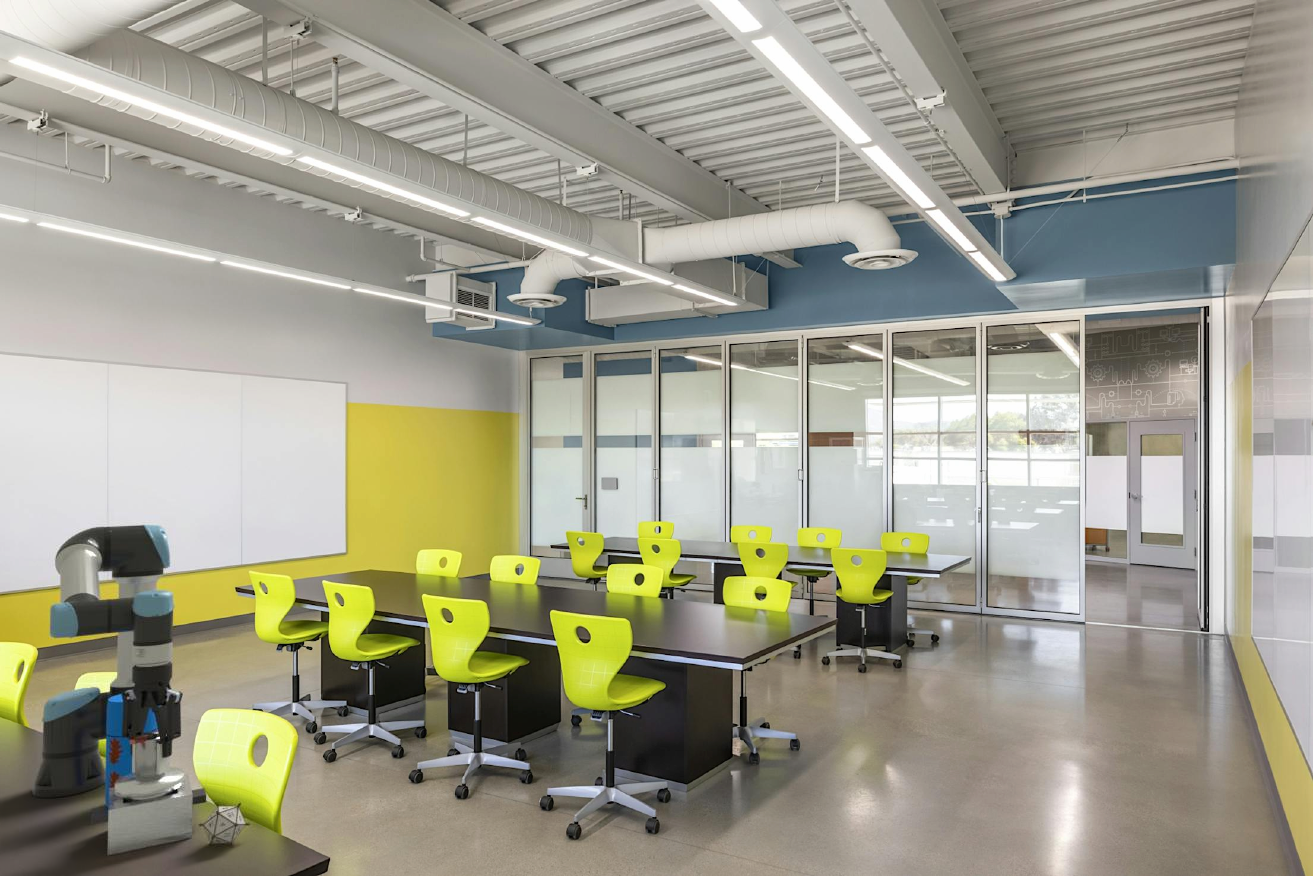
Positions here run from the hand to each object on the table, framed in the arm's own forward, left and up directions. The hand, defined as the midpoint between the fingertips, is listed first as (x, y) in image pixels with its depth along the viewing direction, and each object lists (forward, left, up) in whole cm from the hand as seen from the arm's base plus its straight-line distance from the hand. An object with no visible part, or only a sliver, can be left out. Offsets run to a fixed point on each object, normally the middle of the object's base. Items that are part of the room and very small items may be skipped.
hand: (150, 771), depth 180 cm
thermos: (-23, -3, -13) cm, 27 cm away
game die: (+15, +13, -14) cm, 24 cm away
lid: (0, 0, -6) cm, 6 cm away
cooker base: (0, 0, -13) cm, 13 cm away
